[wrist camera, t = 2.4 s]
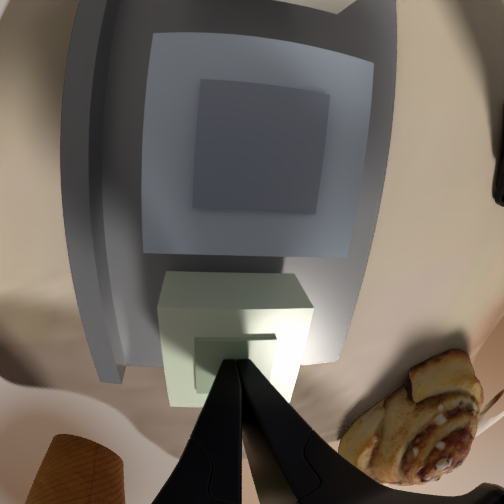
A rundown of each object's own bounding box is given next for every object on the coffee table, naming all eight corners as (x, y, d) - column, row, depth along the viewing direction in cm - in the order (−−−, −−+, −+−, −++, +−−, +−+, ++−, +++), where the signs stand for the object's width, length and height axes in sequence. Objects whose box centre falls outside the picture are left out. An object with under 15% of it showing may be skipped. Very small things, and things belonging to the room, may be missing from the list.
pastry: (478, 323, 17) (539, 386, 10) (447, 417, 23) (479, 465, 16) (326, 403, 17) (368, 505, 10) (341, 470, 23) (363, 529, 16)
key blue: (333, 76, 7) (377, 61, 5) (315, 227, 8) (349, 260, 6) (168, 58, 6) (152, 30, 4) (159, 221, 8) (142, 256, 6)
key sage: (294, 273, 10) (315, 310, 8) (277, 364, 12) (290, 406, 10) (166, 270, 10) (156, 310, 7) (173, 365, 11) (170, 409, 9)
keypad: (379, -30, 7) (407, -48, 5) (329, 346, 15) (346, 378, 12) (126, -61, 5) (114, -88, 3) (111, 346, 13) (100, 381, 11)
